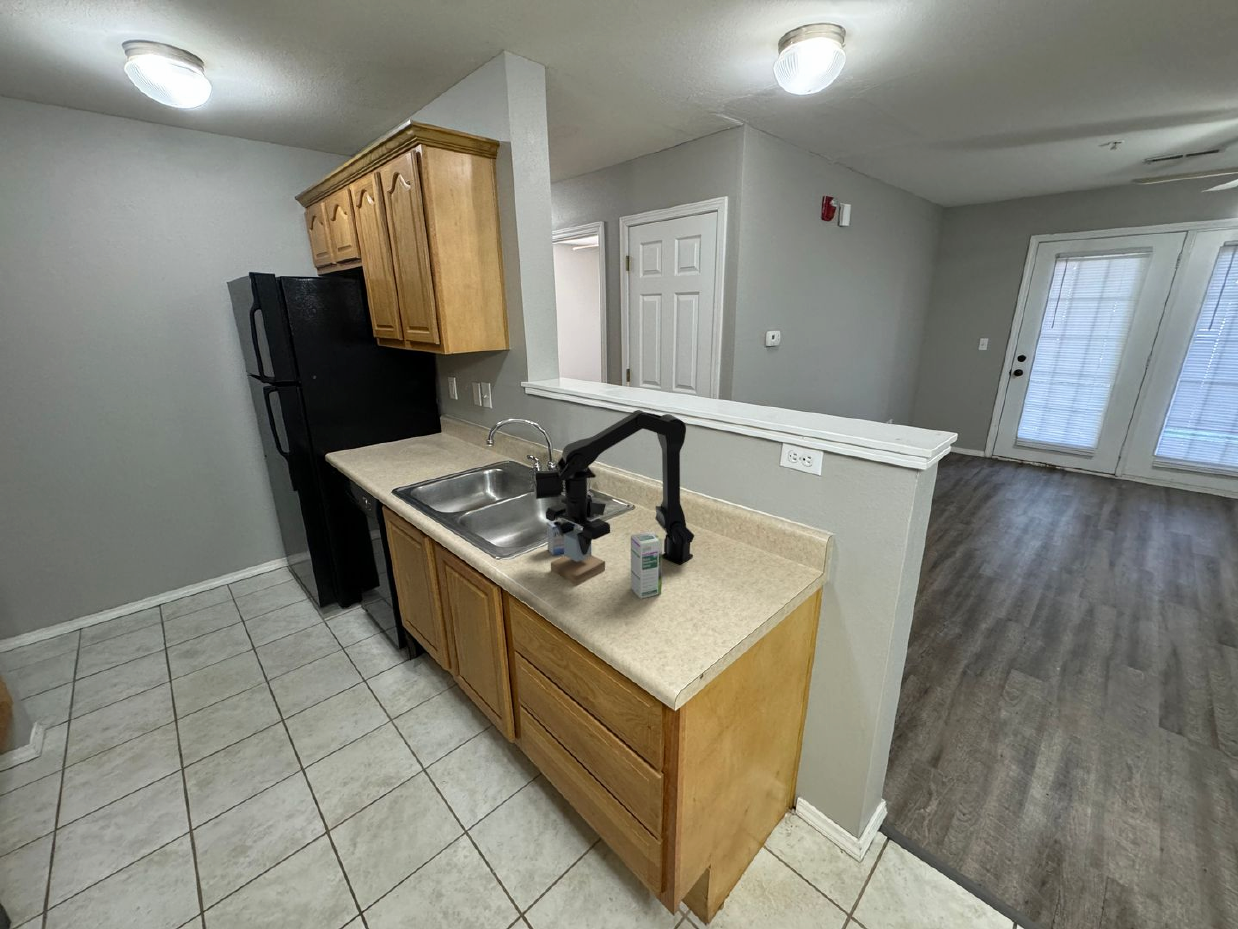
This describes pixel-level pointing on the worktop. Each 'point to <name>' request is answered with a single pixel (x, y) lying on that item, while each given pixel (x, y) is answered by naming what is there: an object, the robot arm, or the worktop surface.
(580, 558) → the slate block
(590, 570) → the walnut block
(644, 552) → the syrup box
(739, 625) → the worktop surface
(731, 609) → the worktop surface
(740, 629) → the worktop surface
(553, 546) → the medicine box
